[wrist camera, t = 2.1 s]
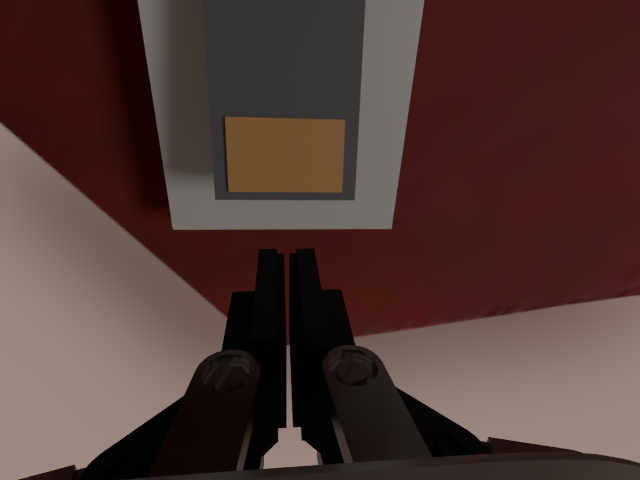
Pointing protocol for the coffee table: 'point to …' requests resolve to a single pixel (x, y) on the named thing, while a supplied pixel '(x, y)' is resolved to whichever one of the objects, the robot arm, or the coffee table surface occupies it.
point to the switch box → (195, 129)
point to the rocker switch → (284, 97)
